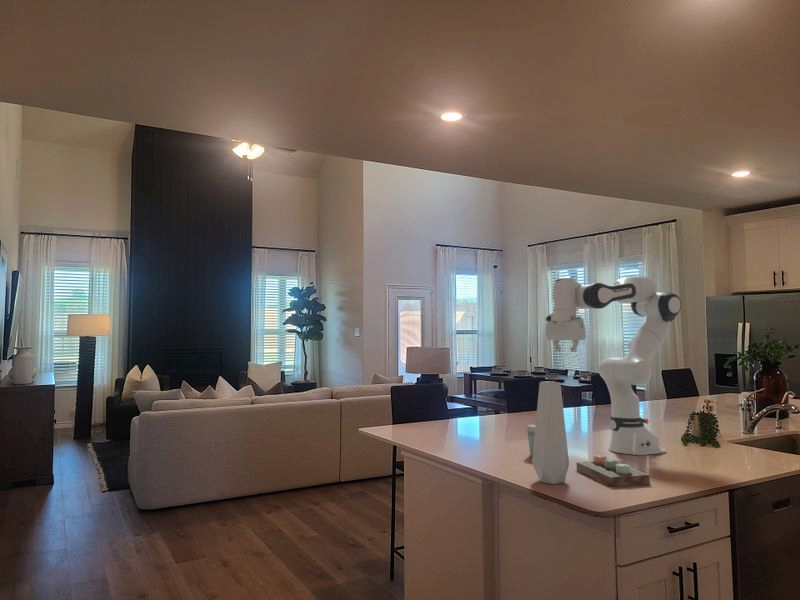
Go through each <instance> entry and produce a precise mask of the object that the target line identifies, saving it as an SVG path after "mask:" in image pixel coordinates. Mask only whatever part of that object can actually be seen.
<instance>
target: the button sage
mask: <svg viewBox="0 0 800 600" xmlns="http://www.w3.org/2000/svg"><path fill="white" fill-rule="evenodd" d="M630 467H631V465H629V464H625V463H620V464H616V474H619V475H630Z"/></svg>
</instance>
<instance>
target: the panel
mask: <svg viewBox="0 0 800 600" xmlns="http://www.w3.org/2000/svg"><path fill="white" fill-rule="evenodd" d="M618 464H621V463H620V462H618ZM576 471H577V472H579V473H581V474H583V475H586V476H588V477H589V476H590V478H591V479H594V480H596V481H598V482H601V483H602V484H605V485H607V486H608V487H610V488H611V487H612V488H613V487H614V488H615V487H626V486H629V487H630V486H643V485H645V486H646V485H650V484H651V481H650V480H651V477H650V473H649V474H648V473H646V472H643V471H641V470H638V469H635V468H633V467H631V466H630V475H619V474H616V470H607V469H605V468H604V465H595V464H594V460H590V461H589V460H588V461H576Z"/></svg>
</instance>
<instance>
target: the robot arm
mask: <svg viewBox="0 0 800 600" xmlns="http://www.w3.org/2000/svg"><path fill="white" fill-rule="evenodd" d="M552 286H553V287H552V288H553V289H552V299H553V300H552V301H553V303H554V304H553V309H552V311H553V312H552V313H550V314H549V315H546V316H545V318H544V319H545V320H544V321H545V322H546V323H545V338H546V339H547V340H548V341H552V344H553V346H554V351H555V352H561V351H562V350H561V347H562V346H560V344H559V343H560V341H571V343H572V346H571V347H570V352H571V353H572V352H573V353H576V352H577V351H578V350H577V348H578V345H579V342H580V341H585V340H586V337H587V334H586V333H587V332H586V325H585V323H584V319H583V318H582V317H581V316H577V310H590V309H591V310H592V309H597V310H599V309H605V308H606V307H607V306H609V305H610V304H611V303H613V302H618V303H619V304H630V307H631V310H632V312H633V314H635V315H636V316H638V317H639V316H640V317H646V320H645V322H644V323H643V325H642V326H641V327H639V329H638V330H637V332H636V333H635V334H634V335H633V337H632V338H631V339H630V340H629V342H628V344H627V345H628V346H627V349H628V350H629V352H628V353H627V355H626V356H624V357H616V356H615V357H614V356H613V357H608V358H605V359H603V360H602V361H600V363H599V365H598V373H599V375H600V378H602V380H603V381H604V382H605V384H606V386H607V390H608V392H609V396H610V405H611V416H610V428H611V429H610V430H611V434H610V443H609V447H608V451H610V452H612V453H613V452H614V453H618V454H623V455H624V454H626V455H634V456H646V455H656V454H663V453H667V451H666V449H665V448H664V447H661V445H660V440H659V438H658V436H657V435H656V434H655V433H653V432H652V431H651V430H650V429H648V428H647V427H645V425H644V424H647V425H648V424H649V423H650V420H649V419H648V418H646V417H645V418H642V417H641V414H640V413H641V409H640V398H639V396H638V395H637V394H636V393H635V392H634V390H633V388H632V385H633V386H638V385H639V386H640V385H645V384H647V383H648V382H649V381H651V378H652V375H653V370H652V367H651V362H652V360H653V359H654V356H655V355H656V353H657V352H658V351H659V349H660V348H661V347H662V345H663V344H664V343H665V340H667V338H668V335H669V333H670V331H671V323H670V322H672V321H674V320H675V319H676V317H677V316H678V315H679V314H680V311H681V309H682V301H681V298H680V296H678V295H677V294H675V293H673V292H662V291H656V289H657V288H656V287H657V285H656V282H655V281H654V280H653V278H651V277H649V276H643V275H642V276H641V275H634V276H633V275H632V276H627V277H623V278H620V279H617V280H615V281H614V282H613V284H612V285H607V284H606V283H601V282H596V283H591V284H585V285H583V284H581V283H580V282H578V281H577V280H575V278H574V277H573V276H565V277H561V278H557V279H555V280H554V283H553V285H552Z"/></svg>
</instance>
